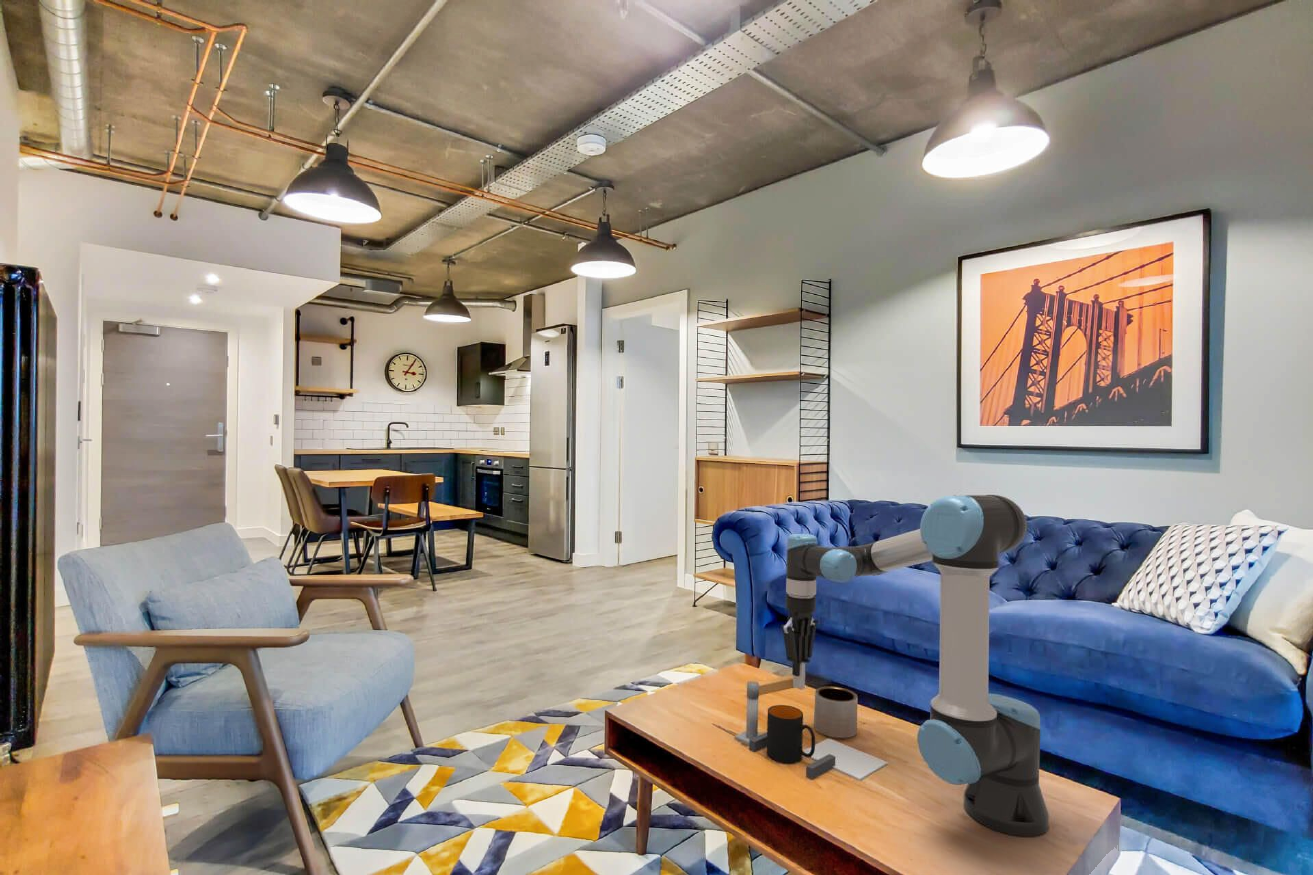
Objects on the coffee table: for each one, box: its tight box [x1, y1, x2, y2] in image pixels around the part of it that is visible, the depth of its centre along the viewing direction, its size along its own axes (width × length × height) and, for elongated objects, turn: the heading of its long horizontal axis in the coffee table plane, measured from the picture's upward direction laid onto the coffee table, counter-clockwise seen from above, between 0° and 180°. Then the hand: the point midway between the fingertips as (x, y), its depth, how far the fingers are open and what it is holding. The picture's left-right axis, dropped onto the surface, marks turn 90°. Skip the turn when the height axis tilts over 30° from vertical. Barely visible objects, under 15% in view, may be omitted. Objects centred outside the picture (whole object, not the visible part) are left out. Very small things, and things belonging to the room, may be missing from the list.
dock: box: [734, 695, 835, 780], centre depth 156 cm, size 24×9×11 cm, turn 42°
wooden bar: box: [746, 674, 796, 699], centre depth 166 cm, size 16×3×3 cm, turn 120°
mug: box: [766, 704, 816, 765], centre depth 154 cm, size 8×12×10 cm
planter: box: [813, 686, 858, 740], centre depth 170 cm, size 11×11×10 cm
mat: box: [802, 737, 889, 781], centre depth 154 cm, size 16×12×1 cm
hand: (798, 687), depth 167 cm, fingers closed
